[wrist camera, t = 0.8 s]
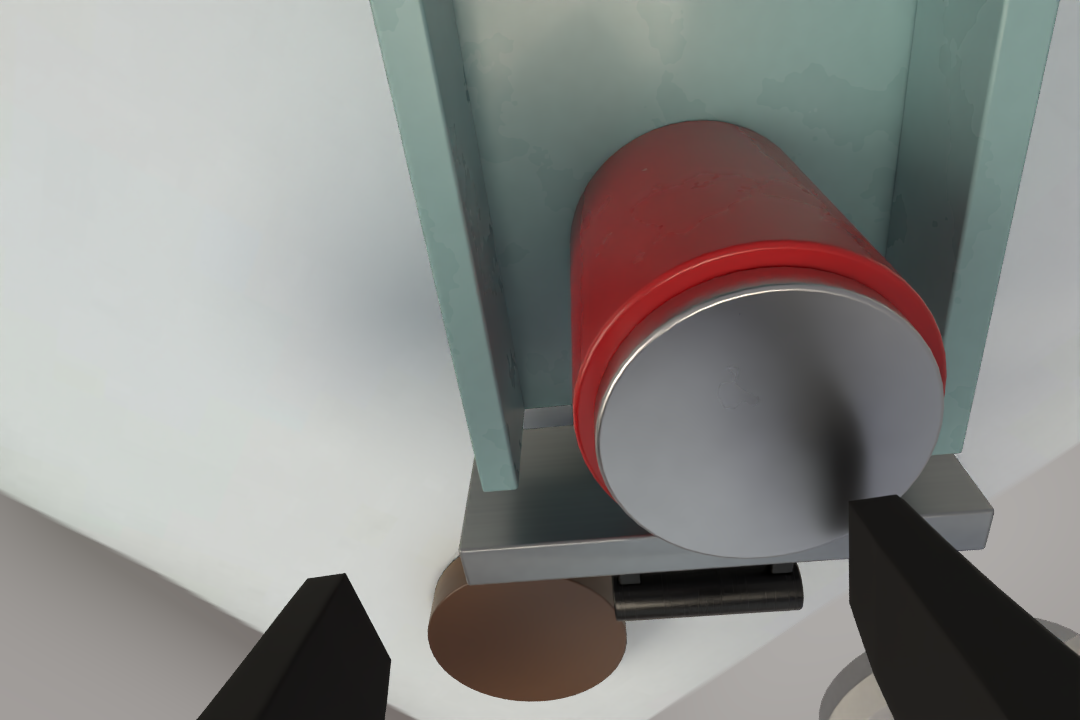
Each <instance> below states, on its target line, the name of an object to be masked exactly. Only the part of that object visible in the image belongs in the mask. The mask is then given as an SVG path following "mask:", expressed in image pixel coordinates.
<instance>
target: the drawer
mask: <svg viewBox="0 0 1080 720" xmlns="http://www.w3.org/2000/svg"><path fill="white" fill-rule="evenodd" d="M369 1H370V6H371V10H372V14H373V19H374V23H375V27H376V32H377V36H378V40H379V45H380V49H381V53H382V58H383V62H384V66H385V71H386V75H387V79H388V84H389V88H390V92H391V97H392V101H393V105H394V109H395V114H396V118H397V122H398V127H399V131H400V135H401V140H402V144H403V148H404V153H405V157H406V161H407V166H408V170H409V174H410V179H411V183H412V187H413V192H414V196H415V200H416V205H417V209H418V213H419V218H420V222H421V226H422V231H423V235H424V239H425V244H426V248H427V252H428V257H429V261H430V265H431V270H432V274H433V278H434V283H435V287H436V291H437V296H438V300H439V304H440V308H441V313H442V317H443V321H444V326H445V330H446V334H447V339H448V343H449V347H450V352H451V356H452V360H453V365H454V369H455V373H456V378H457V382H458V386H459V391H460V395H461V399H462V404H463V408H464V412H465V417H466V421H467V425H468V430H469V434H470V438H471V443H472V447H473V451H474V462H473V468H472V474H471V479H470V485H469V491H468V497H467V503H466V509H465V515H464V521H463V527H462V533H461V539H460V545H459V554H460V558H461V562H462V565H463V569H464V573H465V576H466V580H467V583H468V585H483V584H497V583H511V582H525V581H539V580H554V579H568V578H582V577H596V576H610V575H611V578H612V591H613V601H614V611H615V619H616V621H618V622H619V621H634V620H650V619H665V618H681V617H696V616H712V615H728V614H743V613H759V612H774V611H790V610H800V609H802V607H803V601H804V595H803V585H802V579H801V575H800V571H799V568H798V565H797V563H796V562H810V561H824V560H838V559H849V534H848V535H846V536H844V537H842V538H840V539H837V540H835V541H832V542H830V543H827V544H825V545H822V546H819V547H816V548H813V549H809V550H806V551H803V552H798V553H793V554H789V555H784V556H777V557H768V558H753V559H737V558H722V557H716V556H710V555H704V554H700V553H696V552H692V551H689V550H685V549H682V548H680V547H677V546H675V545H672V544H670V543H667V542H665V541H663V540H662V539H660V538H658V537H656V536H654V535H652V534H651V533H649V532H648V531H646V530H645V529H644V528H642V527H641V526H639V525H638V524H637V523H636V522H635V521H634V520H633V519H631V518H630V517H629V516H628V515H627V514H626V513H625V512H624V511H623V509H622V508H621V507H620V506H619V505H618V504H617V503H616V502H615V501H614V500H613V499H612V498H611V497H610V496H609V495H608V494H607V493H606V492H605V491H604V490H603V488H602V487H601V486H600V485H599V483H598V482H597V481H596V480H595V479H594V477H593V476H592V474H591V472H590V470H589V469H588V467H587V465H586V464H585V462H584V460H583V457H582V455H581V452H580V450H579V447H578V444H577V440H576V435H575V431H574V425H567V426H556V427H545V428H534V429H523V423H524V411H525V409H531V408H541V407H552V406H563V405H572V347H571V289H570V234H571V226H572V221H573V217H574V213H575V210H576V207H577V205H578V202H579V200H580V197H581V195H582V194H583V192H584V190H585V188H586V186H587V184H588V183H589V181H590V180H591V179H592V177H593V176H594V174H595V173H596V172H597V170H598V169H599V168H600V167H601V166H602V165H603V164H604V163H605V162H606V161H607V160H608V158H610V157H611V156H612V155H613V154H614V153H616V152H617V151H618V150H619V149H620V148H622V147H623V146H625V145H626V144H628V143H629V142H631V141H632V140H634V139H635V138H637V137H639V136H641V135H643V134H645V133H648V132H650V131H652V130H654V129H657V128H660V127H663V126H666V125H670V124H675V123H680V122H685V121H698V120H709V121H721V122H726V123H731V124H736V125H739V126H742V127H745V128H747V129H750V130H753V131H755V132H756V133H758V134H760V135H762V136H764V137H766V138H767V139H769V140H770V141H771V142H773V143H774V144H775V145H777V146H778V147H779V148H780V149H781V150H782V151H783V152H784V153H785V154H786V155H787V156H788V157H789V158H790V159H791V160H792V161H793V162H794V163H795V164H796V165H797V166H798V167H799V168H800V170H801V171H802V172H803V173H804V174H805V175H806V176H807V177H808V178H809V179H810V180H811V181H812V182H813V183H814V184H815V185H816V186H817V187H818V188H819V190H820V191H821V192H822V193H823V194H824V195H825V196H826V197H827V198H828V199H829V200H830V201H831V202H832V203H833V204H834V205H835V206H836V207H837V209H838V210H839V211H840V212H841V213H842V214H843V215H844V216H845V217H846V218H847V219H848V220H849V221H850V222H851V223H852V224H853V225H854V226H855V227H856V229H857V230H858V231H859V232H860V233H861V234H862V235H863V236H864V237H865V238H866V239H867V240H868V241H869V242H870V243H871V244H872V245H873V246H874V247H875V249H876V250H877V251H878V252H879V253H880V254H881V255H882V256H883V257H884V258H885V259H886V260H887V261H888V262H889V263H890V264H891V265H892V266H893V268H894V269H895V270H896V271H897V272H898V273H899V274H900V275H901V276H902V277H903V278H904V279H905V280H906V281H907V282H908V283H909V284H910V285H911V286H912V288H913V289H914V290H915V291H916V292H917V293H918V294H919V295H920V296H921V298H922V299H923V300H924V302H925V303H926V305H927V306H928V308H929V309H930V311H931V312H932V314H933V316H934V318H935V321H936V323H937V325H938V328H939V330H940V332H941V336H942V340H943V344H944V348H945V352H946V369H947V379H946V388H945V396H944V412H943V421H942V426H941V430H940V434H939V437H938V441H937V443H936V446H935V448H934V450H933V452H932V455H931V457H930V459H929V461H928V462H927V464H926V466H925V467H924V469H923V470H922V472H921V474H920V475H919V477H918V478H917V479H916V480H915V481H914V483H913V484H912V485H911V486H910V488H909V489H908V490H907V491H906V492H905V493H904V494H903V495H902V496H901V498H902V499H904V500H905V501H906V502H907V503H908V504H909V505H910V506H911V507H912V508H913V509H914V510H915V511H916V512H917V513H918V514H919V515H920V516H921V517H923V518H924V519H925V520H926V521H927V522H928V523H929V524H930V525H931V526H932V527H933V528H934V529H935V530H936V531H937V532H938V533H939V534H940V535H941V536H942V537H943V538H945V539H946V540H947V541H948V542H949V543H950V544H951V545H952V546H953V547H954V548H955V549H956V550H957V551H966V550H980V549H984V548H985V545H986V542H987V538H988V534H989V531H990V526H991V523H992V519H993V515H994V509H993V507H992V506H991V505H990V503H989V502H988V500H987V499H986V498H985V496H984V495H983V494H982V492H981V491H980V490H979V488H978V487H977V485H976V484H975V483H974V481H973V480H972V479H971V477H970V476H969V474H968V473H967V472H966V470H965V469H964V468H963V466H962V465H961V464H960V462H959V461H958V459H957V458H956V457H955V455H954V454H955V453H961V452H962V448H963V444H964V439H965V435H966V430H967V425H968V421H969V416H970V412H971V407H972V402H973V398H974V393H975V388H976V384H977V379H978V375H979V370H980V365H981V361H982V356H983V352H984V347H985V342H986V338H987V333H988V329H989V324H990V319H991V315H992V310H993V306H994V301H995V296H996V292H997V287H998V282H999V278H1000V273H1001V269H1002V264H1003V259H1004V255H1005V250H1006V246H1007V241H1008V236H1009V232H1010V227H1011V223H1012V218H1013V213H1014V209H1015V204H1016V200H1017V195H1018V190H1019V186H1020V181H1021V176H1022V172H1023V167H1024V163H1025V158H1026V153H1027V149H1028V144H1029V140H1030V135H1031V130H1032V126H1033V121H1034V117H1035V112H1036V107H1037V103H1038V98H1039V94H1040V89H1041V84H1042V80H1043V75H1044V71H1045V66H1046V61H1047V57H1048V52H1049V47H1050V43H1051V38H1052V34H1053V29H1054V24H1055V20H1056V15H1057V11H1058V6H1059V1H1060V0H369Z"/></svg>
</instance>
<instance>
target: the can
mask: <svg viewBox="0 0 1080 720" xmlns="http://www.w3.org/2000/svg"><path fill="white" fill-rule="evenodd" d="M570 289H571V347H572V406H573V425H574V431H575V435H576V440H577V444H578V447H579V450H580V452H581V455H582V457H583V460H584V462H585V464H586V465H587V467H588V469H589V470H590V472H591V474H592V476H593V477H594V479H595V480H596V481H597V482H598V483H599V485H600V486H601V487H602V488H603V490H604V491H605V492H606V493H607V494H608V495H609V496H610V497H611V498H612V499H613V500H614V501H615V502H616V503H617V504H618V505H619V506H620V507H621V508H622V509H623V511H624V512H625V513H626V514H627V515H628V516H629V517H630V518H631V519H633V520H634V521H635V522H636V523H637V524H638V525H639V526H641V527H642V528H644V529H645V530H646V531H648V532H649V533H651V534H652V535H654V536H656V537H658V538H660V539H662V540H663V541H665V542H667V543H670V544H672V545H675V546H677V547H680V548H682V549H685V550H689V551H692V552H696V553H700V554H704V555H710V556H716V557H722V558H737V559H753V558H768V557H777V556H784V555H789V554H793V553H798V552H803V551H806V550H809V549H813V548H816V547H819V546H822V545H825V544H827V543H830V542H832V541H835V540H837V539H840V538H842V537H844V536H846V535H848V534H849V501H853V500H860V499H867V498H874V497H881V496H888V495H895V494H896V495H898V496H899V497H901V496H902V495H903V494H904V493H905V492H906V491H907V490H908V489H909V488H910V486H911V485H912V484H913V483H914V481H915V480H916V479H917V478H918V477H919V475H920V474H921V472H922V470H923V469H924V467H925V466H926V464H927V462H928V461H929V459H930V457H931V455H932V452H933V450H934V448H935V446H936V443H937V441H938V437H939V434H940V430H941V426H942V421H943V412H944V396H945V388H946V379H947V369H946V352H945V348H944V344H943V340H942V336H941V332H940V330H939V328H938V325H937V323H936V321H935V318H934V316H933V314H932V312H931V311H930V309H929V308H928V306H927V305H926V303H925V302H924V300H923V299H922V298H921V296H920V295H919V294H918V293H917V292H916V291H915V290H914V289H913V288H912V286H911V285H910V284H909V283H908V282H907V281H906V280H905V279H904V278H903V277H902V276H901V275H900V274H899V273H898V272H897V271H896V270H895V269H894V268H893V266H892V265H891V264H890V263H889V262H888V261H887V260H886V259H885V258H884V257H883V256H882V255H881V254H880V253H879V252H878V251H877V250H876V249H875V247H874V246H873V245H872V244H871V243H870V242H869V241H868V240H867V239H866V238H865V237H864V236H863V235H862V234H861V233H860V232H859V231H858V230H857V229H856V227H855V226H854V225H853V224H852V223H851V222H850V221H849V220H848V219H847V218H846V217H845V216H844V215H843V214H842V213H841V212H840V211H839V210H838V209H837V207H836V206H835V205H834V204H833V203H832V202H831V201H830V200H829V199H828V198H827V197H826V196H825V195H824V194H823V193H822V192H821V191H820V190H819V188H818V187H817V186H816V185H815V184H814V183H813V182H812V181H811V180H810V179H809V178H808V177H807V176H806V175H805V174H804V173H803V172H802V171H801V170H800V168H799V167H798V166H797V165H796V164H795V163H794V162H793V161H792V160H791V159H790V158H789V157H788V156H787V155H786V154H785V153H784V152H783V151H782V150H781V149H780V148H779V147H778V146H777V145H775V144H774V143H773V142H771V141H770V140H769V139H767V138H766V137H764V136H762V135H760V134H758V133H756V132H755V131H753V130H750V129H747V128H745V127H742V126H739V125H736V124H731V123H726V122H721V121H709V120H698V121H685V122H680V123H675V124H670V125H666V126H663V127H660V128H657V129H654V130H652V131H650V132H648V133H645V134H643V135H641V136H639V137H637V138H635V139H634V140H632V141H631V142H629V143H628V144H626V145H625V146H623V147H622V148H620V149H619V150H618V151H617V152H616V153H614V154H613V155H612V156H611V157H610V158H608V160H607V161H606V162H605V163H604V164H603V165H602V166H601V167H600V168H599V169H598V170H597V172H596V173H595V174H594V176H593V177H592V179H591V180H590V181H589V183H588V184H587V186H586V188H585V190H584V192H583V194H582V195H581V197H580V200H579V202H578V205H577V207H576V210H575V213H574V217H573V221H572V226H571V234H570Z"/></svg>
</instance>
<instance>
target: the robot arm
mask: <svg viewBox="0 0 1080 720" xmlns="http://www.w3.org/2000/svg"><path fill="white" fill-rule="evenodd" d="M849 603H850V606H851V609H852V612H853V615H854V618H855V621H856V624H857V627H858V630H859V633H860V636H861V639H862V642H863V644H864V648H865V650H866V653H867V656H868V659H869V662H870V665H871V667H872V670H873V673H874V676H875V678H876V681H877V683H878V685H879V687H880V689H881V691H882V694H883V696H884V698H885V700H886V702H887V704H888V707H889V709H890V711H891V713H892V715H893V717H894V720H1080V656H1079V655H1078V654H1077V653H1076V652H1074V651H1073V650H1072V649H1071V648H1069V647H1068V646H1067V645H1066V644H1065V643H1063V642H1062V641H1061V640H1060V639H1058V638H1057V637H1056V636H1055V635H1053V634H1052V633H1051V632H1050V631H1049V630H1048V629H1046V628H1045V627H1044V626H1043V625H1042V624H1040V623H1039V622H1038V621H1037V620H1036V619H1035V618H1033V617H1032V616H1031V615H1030V614H1028V612H1026V611H1025V610H1024V609H1023V608H1022V607H1020V606H1019V605H1018V604H1017V603H1016V602H1015V601H1013V600H1012V599H1011V598H1010V597H1009V596H1007V595H1006V594H1005V593H1004V592H1003V591H1002V590H1001V589H999V588H998V587H997V586H996V585H995V584H994V583H993V582H992V581H990V580H989V579H988V578H987V577H986V576H985V575H984V574H982V573H981V572H980V571H979V570H978V569H977V568H976V567H975V566H974V565H972V564H971V563H970V562H969V561H968V560H967V559H966V558H965V557H964V556H963V555H962V554H961V553H960V552H958V551H957V550H956V549H955V548H954V547H953V546H952V545H951V544H950V543H949V542H948V541H947V540H946V539H945V538H943V537H942V536H941V535H940V534H939V533H938V532H937V531H936V530H935V529H934V528H933V527H932V526H931V525H930V524H929V523H928V522H927V521H926V520H925V519H924V518H923V517H921V516H920V515H919V514H918V513H917V512H916V511H915V510H914V509H913V508H912V507H911V506H910V505H909V504H908V503H907V502H906V501H905V500H904V499H902V498H901V497H899V496H898V495H896V494H895V495H888V496H881V497H874V498H867V499H860V500H853V501H849ZM390 666H391V659H390V657H389V655H388V653H387V651H386V649H385V647H384V645H383V643H382V642H381V640H380V638H379V636H378V634H377V632H376V630H375V628H374V626H373V624H372V623H371V621H370V619H369V617H368V615H367V613H366V611H365V609H364V607H363V605H362V604H361V602H360V600H359V598H358V596H357V594H356V592H355V590H354V588H353V586H352V585H351V583H350V581H349V579H348V577H347V575H346V573H343V574H336V575H329V576H322V577H315V578H308V579H307V580H306V581H305V582H304V584H303V585H302V586H301V587H300V588H299V590H298V591H297V592H296V593H295V595H294V596H293V597H292V598H291V600H290V601H289V602H288V604H287V605H286V606H285V607H284V609H283V610H282V611H281V613H280V614H279V615H278V616H277V618H276V619H275V620H274V622H273V623H272V624H271V626H270V627H269V628H268V629H267V631H266V632H265V633H264V635H263V636H262V637H261V639H260V640H259V641H258V643H257V644H256V645H255V646H254V648H253V649H252V651H251V652H250V653H249V654H248V655H247V657H246V658H245V659H244V661H243V662H242V663H241V664H240V666H239V667H238V668H237V670H236V671H235V672H234V673H233V675H232V676H231V677H230V679H229V680H228V681H227V682H226V683H225V685H224V686H223V687H222V688H221V690H220V691H219V692H218V694H217V695H216V696H215V697H214V699H213V700H212V701H211V702H210V704H209V705H208V706H207V708H206V709H205V710H204V711H203V712H202V714H201V715H200V716H199V718H198V719H197V720H385V712H386V705H387V696H388V686H389V676H390Z"/></svg>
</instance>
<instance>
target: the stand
mask: <svg viewBox="0 0 1080 720" xmlns="http://www.w3.org/2000/svg"><path fill="white" fill-rule="evenodd" d="M428 641H429V645H430V648H431V651H432V653H433V655H434V657H435V659H436V660H437V662H438V663H439V664H440V665H441V667H442V668H443V669H444V670H445V671H446V672H447V673H448V674H449V675H451V676H452V677H453V678H454V679H456V680H457V681H459V682H460V683H462V684H464V685H466V686H467V687H469V688H471V689H474V690H476V691H478V692H481V693H484V694H487V695H490V696H493V697H498V698H502V699H508V700H515V701H548V700H556V699H561V698H566V697H569V696H573V695H576V694H579V693H581V692H584V691H586V690H588V689H590V688H592V687H594V686H596V685H597V684H599V683H600V682H602V681H603V680H605V679H606V678H607V677H608V676H609V675H611V673H612V672H613V671H614V670H615V669H616V668H617V666H618V665H619V663H620V661H621V660H622V657H623V655H624V652H625V649H626V644H627V633H626V622H625V621H619V622H618V621H616V619H615V611H614V601H613V591H612V578H611V575H610V576H596V577H582V578H568V579H554V580H539V581H525V582H511V583H497V584H483V585H468V583H467V580H466V576H465V573H464V569H463V565H462V562H461V558H460V556H459V557H458V558H457V559H456V560H454V561H453V562H452V563H451V564H450V565H449V566H448V567H447V568H446V570H445V571H444V572H443V574H442V575H441V577H440V579H439V580H438V583H437V586H436V589H435V594H434V599H433V604H432V609H431V614H430V620H429V625H428Z"/></svg>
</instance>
